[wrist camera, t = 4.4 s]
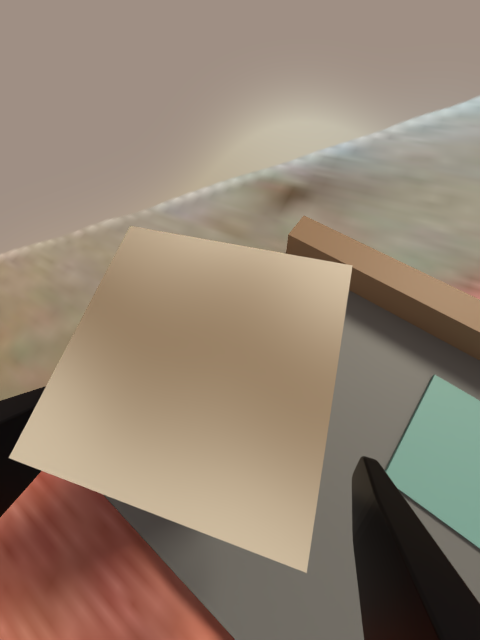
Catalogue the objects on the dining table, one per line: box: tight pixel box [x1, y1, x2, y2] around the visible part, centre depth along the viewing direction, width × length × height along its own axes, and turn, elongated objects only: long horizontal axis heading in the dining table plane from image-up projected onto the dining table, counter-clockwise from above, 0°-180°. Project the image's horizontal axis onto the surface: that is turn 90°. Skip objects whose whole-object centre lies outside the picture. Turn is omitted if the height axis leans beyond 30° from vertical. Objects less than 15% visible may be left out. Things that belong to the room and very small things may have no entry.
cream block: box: [9, 226, 353, 573], centre depth 11 cm, size 5×5×13 cm
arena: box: [104, 216, 480, 640], centre depth 14 cm, size 22×24×4 cm
